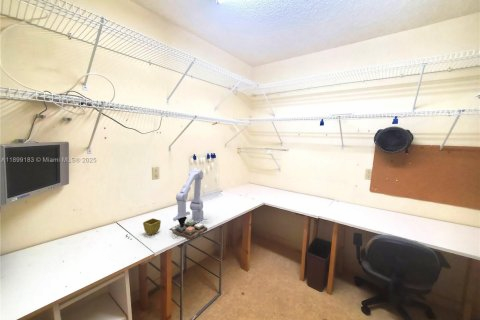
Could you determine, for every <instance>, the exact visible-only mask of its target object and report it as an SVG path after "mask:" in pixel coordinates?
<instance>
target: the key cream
mask: <svg viewBox="0 0 480 320" xmlns="http://www.w3.org/2000/svg"><path fill="white" fill-rule="evenodd" d="M203 225H204V224H201V223H200V222H198V223H197V224H196V225H194V227H197V228H200V227H202V226H203Z"/></svg>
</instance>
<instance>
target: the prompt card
mask: <svg viewBox="0 0 480 320" xmlns="http://www.w3.org/2000/svg"><path fill="white" fill-rule="evenodd" d="M179 226H180V224H177V225H175V226H173V227H170V228H169V231H173V230H175V229H176V228H178V227H179Z"/></svg>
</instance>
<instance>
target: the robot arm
mask: <svg viewBox="0 0 480 320" xmlns="http://www.w3.org/2000/svg"><path fill="white" fill-rule="evenodd" d="M203 174H204V172H203V170H202V169H194V168H190V170H189V171H188V178H187V180H186V183H185V184H183V186H182V187H181V189H180V191H179V192H178V193H177V194H176V196H175V199H176V203H177V214H176V216H174V217H173V219H172V220H173V222H178V223H179V224H180V227H184V224H186V223H185V222H187V221H186V220H187V219H188V217H187V216H190V215H191V219H190V220H194V221H195V223H197V224H198V223H200V222H201V221H203V220H205V218H204V210H203V208H204V202H203V200H202V199H201V189H202V188H201V187H202V186H201V185H202V180H203V177H204V175H203ZM193 182H194V189H193V191H194V192H193V199H191V201H190V204H189V209H190V210H191V212H190V211H187V200H188V197H189V192H190V190H191V188H192V187H191V185H192V184H193ZM179 224H178V225H179Z"/></svg>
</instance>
